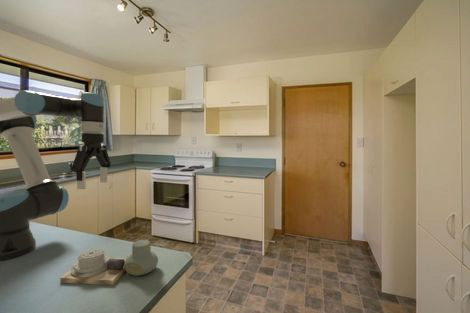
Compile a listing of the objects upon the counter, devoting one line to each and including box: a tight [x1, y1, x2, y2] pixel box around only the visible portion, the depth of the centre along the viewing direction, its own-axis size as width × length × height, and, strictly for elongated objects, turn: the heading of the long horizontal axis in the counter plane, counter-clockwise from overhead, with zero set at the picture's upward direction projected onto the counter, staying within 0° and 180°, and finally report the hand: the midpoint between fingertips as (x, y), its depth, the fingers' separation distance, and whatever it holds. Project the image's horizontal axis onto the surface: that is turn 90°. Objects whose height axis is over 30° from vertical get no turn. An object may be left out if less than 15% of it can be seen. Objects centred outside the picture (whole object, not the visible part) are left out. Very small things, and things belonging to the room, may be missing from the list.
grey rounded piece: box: [124, 239, 159, 277], centre depth 80 cm, size 11×8×10 cm
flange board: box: [59, 257, 127, 286], centre depth 78 cm, size 17×13×5 cm
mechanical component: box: [73, 248, 109, 273], centre depth 78 cm, size 10×4×10 cm
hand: (93, 185), depth 93 cm, fingers open, 13 cm apart
